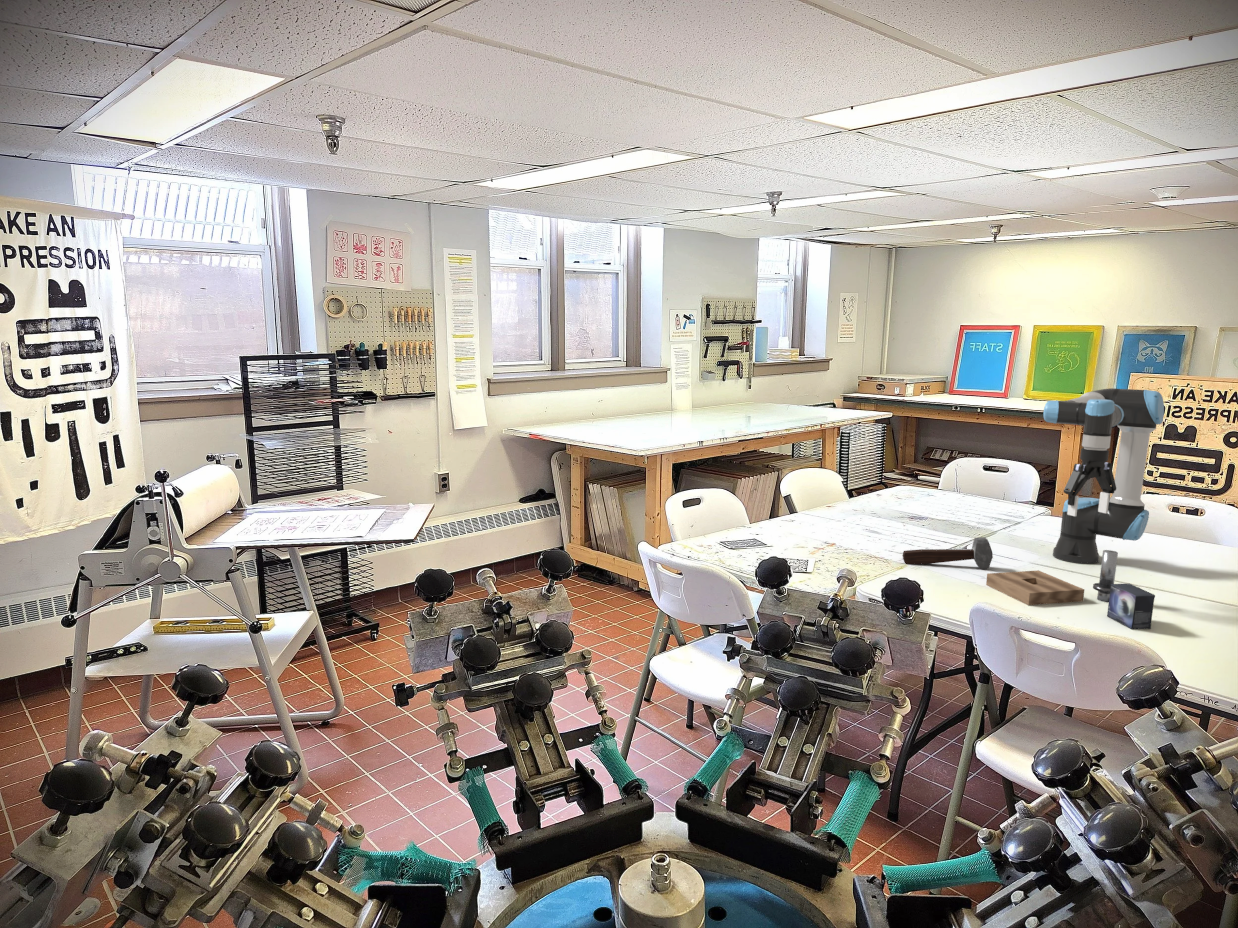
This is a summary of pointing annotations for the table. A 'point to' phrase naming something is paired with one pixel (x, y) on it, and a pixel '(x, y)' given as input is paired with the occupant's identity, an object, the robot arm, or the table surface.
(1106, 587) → the steel peg
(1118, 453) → the robot arm
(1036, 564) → the table surface
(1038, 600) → the socket plate
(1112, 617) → the small box
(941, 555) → the hammer
